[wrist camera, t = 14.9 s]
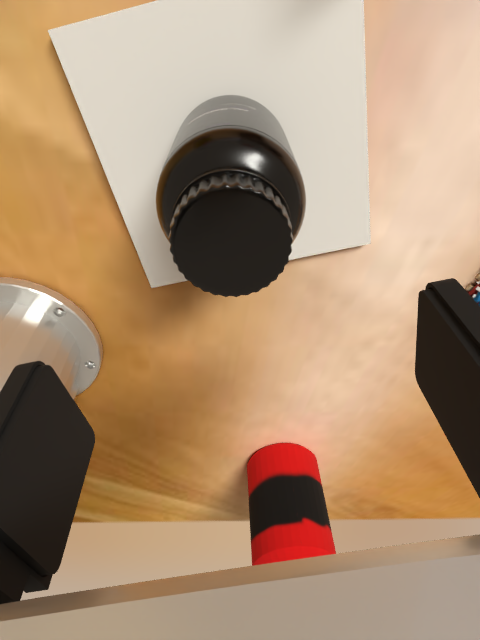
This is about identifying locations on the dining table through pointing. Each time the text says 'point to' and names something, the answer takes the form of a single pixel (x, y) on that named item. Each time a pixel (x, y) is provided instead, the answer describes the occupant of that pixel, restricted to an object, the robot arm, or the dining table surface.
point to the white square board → (226, 79)
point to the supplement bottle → (230, 197)
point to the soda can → (287, 505)
